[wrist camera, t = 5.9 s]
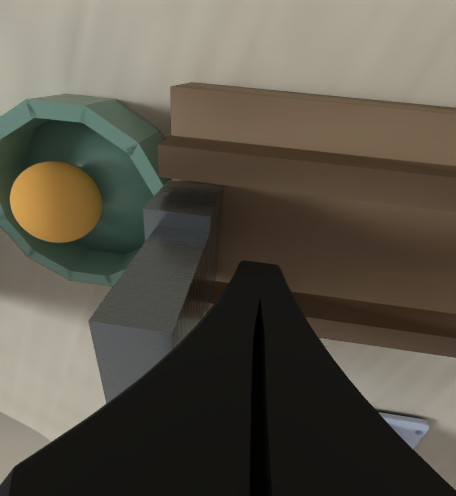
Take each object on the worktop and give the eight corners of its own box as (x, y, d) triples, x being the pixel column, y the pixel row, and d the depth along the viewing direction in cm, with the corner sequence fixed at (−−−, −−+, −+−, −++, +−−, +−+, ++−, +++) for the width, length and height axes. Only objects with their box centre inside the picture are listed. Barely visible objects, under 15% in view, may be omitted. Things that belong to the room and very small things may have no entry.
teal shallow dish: (183, 266, 17) (171, 294, 15) (44, 247, 18) (12, 272, 15) (183, 105, 13) (166, 113, 11) (0, 87, 13) (-52, 91, 11)
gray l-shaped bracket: (216, 276, 13) (174, 435, 7) (170, 269, 13) (95, 421, 8) (222, 186, 11) (171, 313, 5) (168, 179, 11) (62, 297, 5)
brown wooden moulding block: (517, 325, 16) (593, 404, 13) (188, 279, 18) (165, 339, 14) (673, 128, 11) (882, 161, 7) (191, 82, 12) (155, 89, 8)
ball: (3, 251, 13) (55, 216, 16) (81, 263, 13) (119, 226, 16) (-26, 170, 11) (39, 148, 14) (64, 182, 11) (111, 157, 14)
